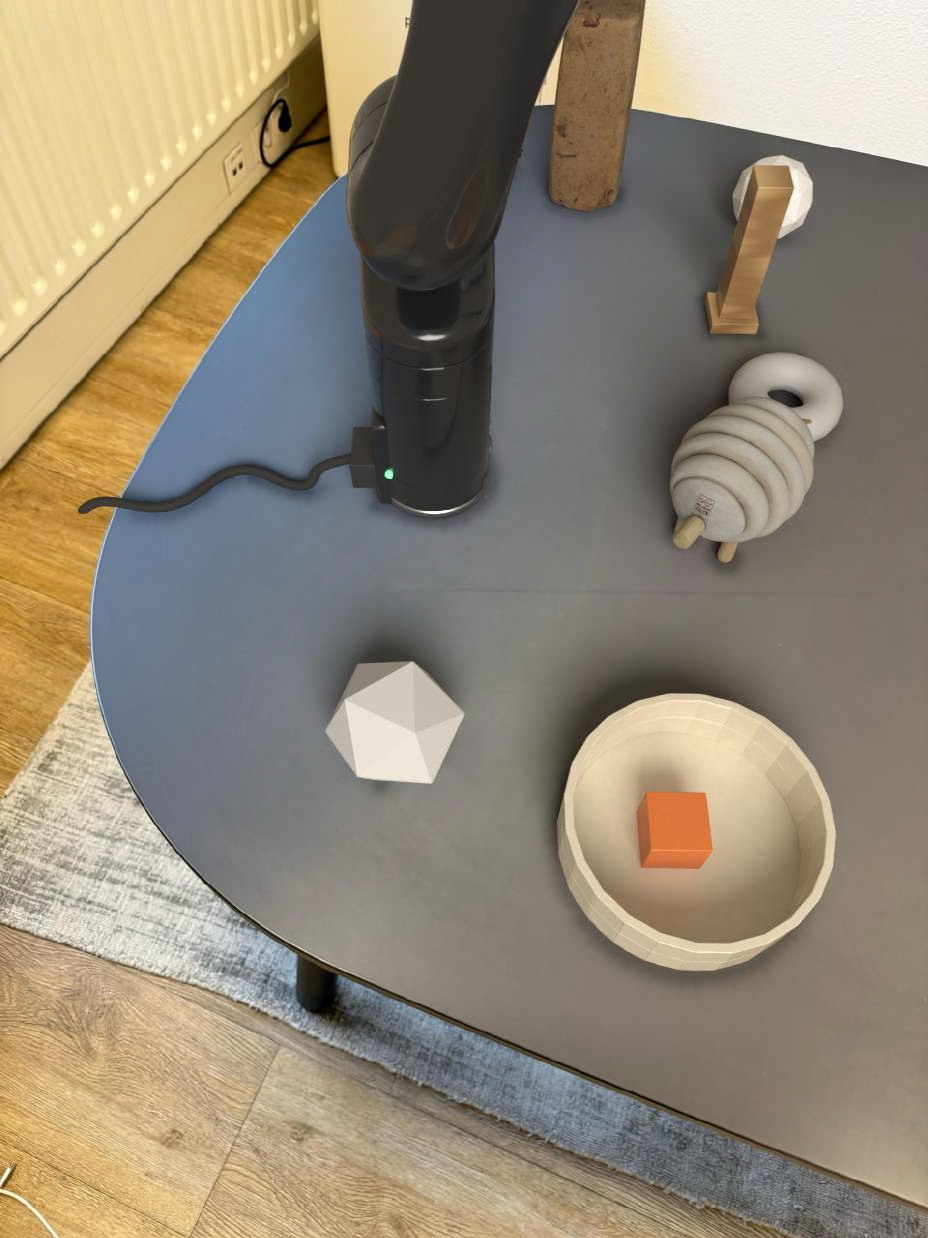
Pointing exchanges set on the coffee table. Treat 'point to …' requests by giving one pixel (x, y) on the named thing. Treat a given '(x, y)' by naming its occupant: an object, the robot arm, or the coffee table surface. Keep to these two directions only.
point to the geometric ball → (799, 198)
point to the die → (394, 723)
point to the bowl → (739, 823)
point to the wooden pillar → (750, 251)
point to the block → (594, 102)
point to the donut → (793, 387)
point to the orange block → (674, 830)
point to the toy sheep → (740, 473)
